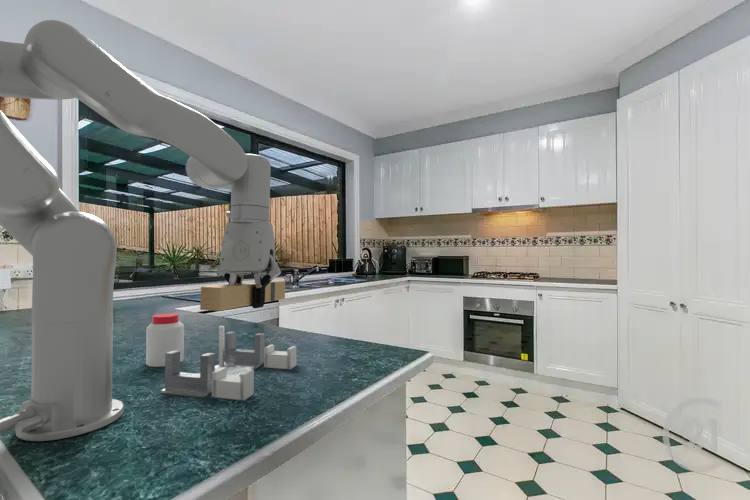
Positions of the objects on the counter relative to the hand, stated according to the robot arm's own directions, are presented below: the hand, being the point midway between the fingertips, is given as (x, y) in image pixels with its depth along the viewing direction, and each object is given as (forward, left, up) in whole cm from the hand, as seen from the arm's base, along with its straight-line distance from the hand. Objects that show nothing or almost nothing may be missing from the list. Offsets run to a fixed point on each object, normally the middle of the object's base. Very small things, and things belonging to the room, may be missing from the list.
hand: (247, 306), depth 76 cm
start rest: (+1, -2, -15) cm, 15 cm away
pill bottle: (+7, +26, -15) cm, 31 cm away
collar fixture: (+1, +7, -15) cm, 16 cm away
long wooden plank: (0, 0, +1) cm, 1 cm away
